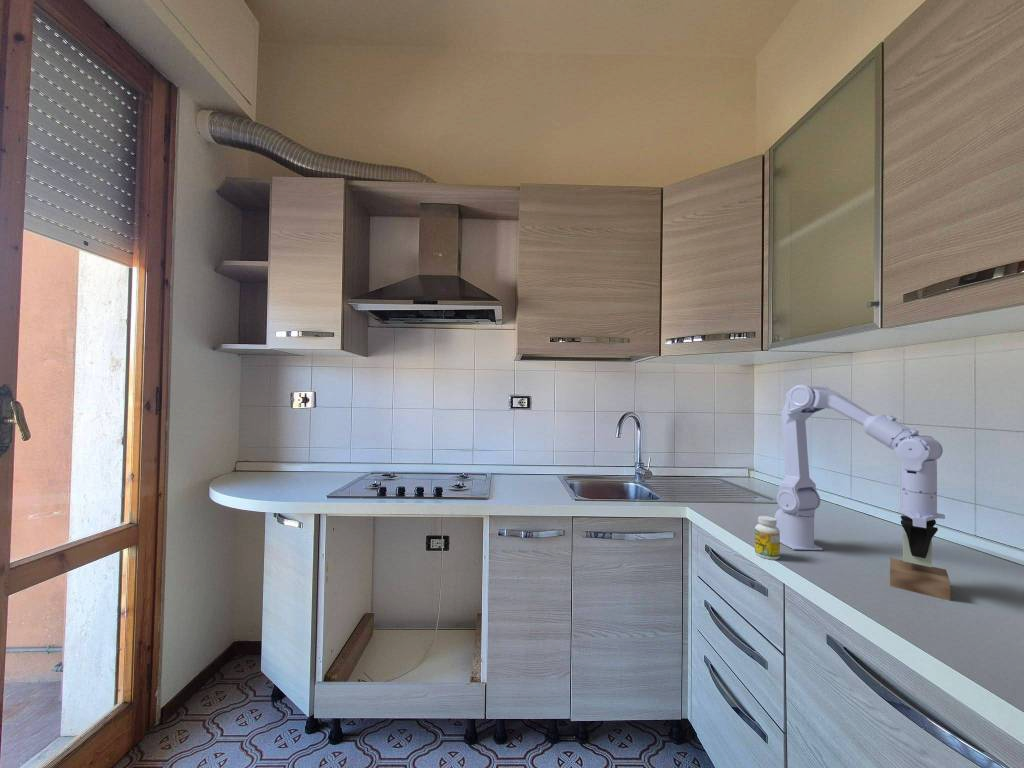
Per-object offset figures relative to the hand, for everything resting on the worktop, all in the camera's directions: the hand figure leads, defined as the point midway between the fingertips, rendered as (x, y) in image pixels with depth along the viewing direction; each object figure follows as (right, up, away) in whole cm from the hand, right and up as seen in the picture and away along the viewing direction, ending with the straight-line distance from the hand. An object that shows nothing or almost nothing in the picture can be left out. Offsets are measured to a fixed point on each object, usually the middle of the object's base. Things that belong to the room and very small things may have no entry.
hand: (918, 553), depth 90 cm
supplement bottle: (-24, -7, +15) cm, 29 cm away
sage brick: (0, -2, 0) cm, 2 cm away
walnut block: (0, -7, 0) cm, 7 cm away
